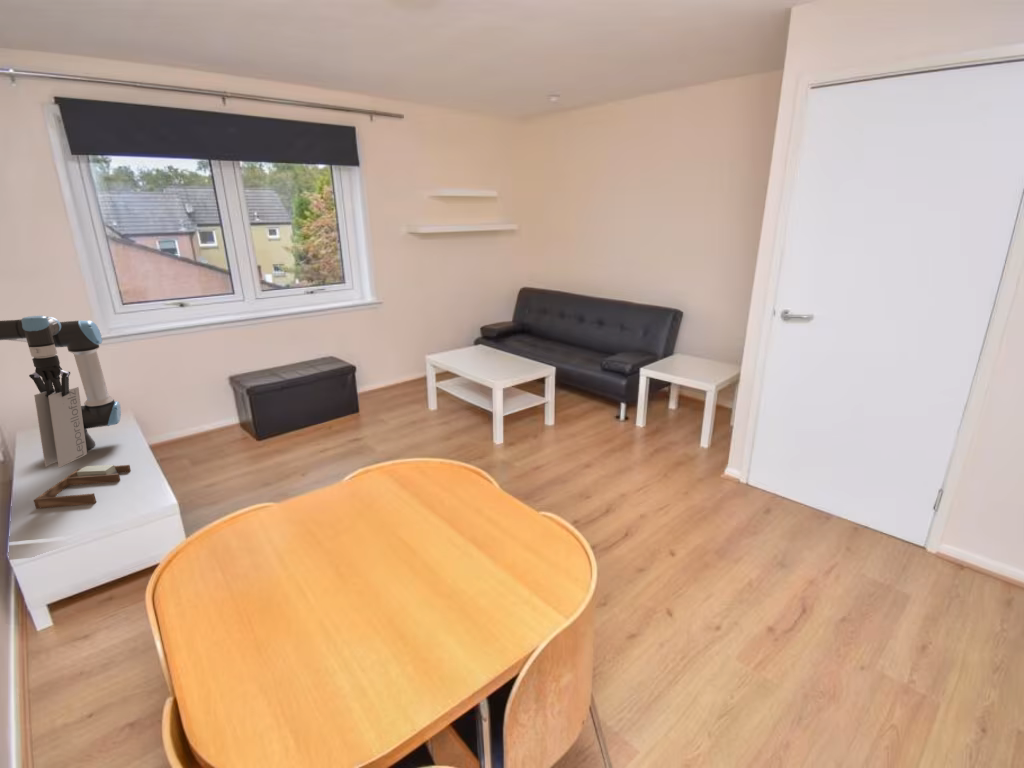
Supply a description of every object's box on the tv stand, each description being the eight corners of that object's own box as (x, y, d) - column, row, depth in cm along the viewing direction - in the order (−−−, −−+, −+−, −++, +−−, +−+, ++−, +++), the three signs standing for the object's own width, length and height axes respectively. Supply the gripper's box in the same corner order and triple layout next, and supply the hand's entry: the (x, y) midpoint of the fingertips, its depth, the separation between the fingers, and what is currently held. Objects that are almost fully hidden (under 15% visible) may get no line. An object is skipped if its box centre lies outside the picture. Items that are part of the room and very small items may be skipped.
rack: (80, 476, 226) (78, 468, 225) (131, 472, 230) (129, 464, 229) (36, 508, 199) (33, 499, 198) (94, 503, 203) (92, 494, 202)
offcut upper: (87, 472, 225) (86, 466, 224) (115, 471, 226) (114, 465, 225) (78, 478, 220) (76, 471, 219) (107, 476, 220) (105, 470, 220)
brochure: (59, 467, 201) (48, 396, 194) (44, 466, 201) (34, 395, 193) (87, 454, 215) (78, 386, 207) (73, 453, 214) (64, 385, 207)
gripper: (17, 359, 190) (34, 417, 197) (58, 357, 193) (74, 414, 200) (31, 354, 197) (47, 410, 204) (70, 353, 200) (85, 408, 207)
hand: (60, 412), depth 202 cm, fingers closed
